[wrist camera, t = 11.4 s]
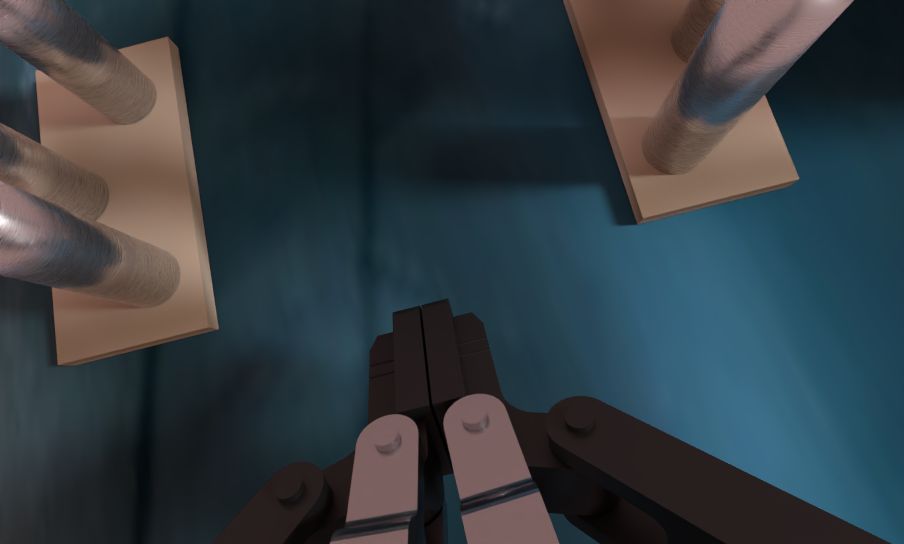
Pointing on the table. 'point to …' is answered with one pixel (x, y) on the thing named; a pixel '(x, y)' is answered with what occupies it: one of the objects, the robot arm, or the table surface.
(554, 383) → the table surface
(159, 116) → the rack
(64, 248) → the spacers
